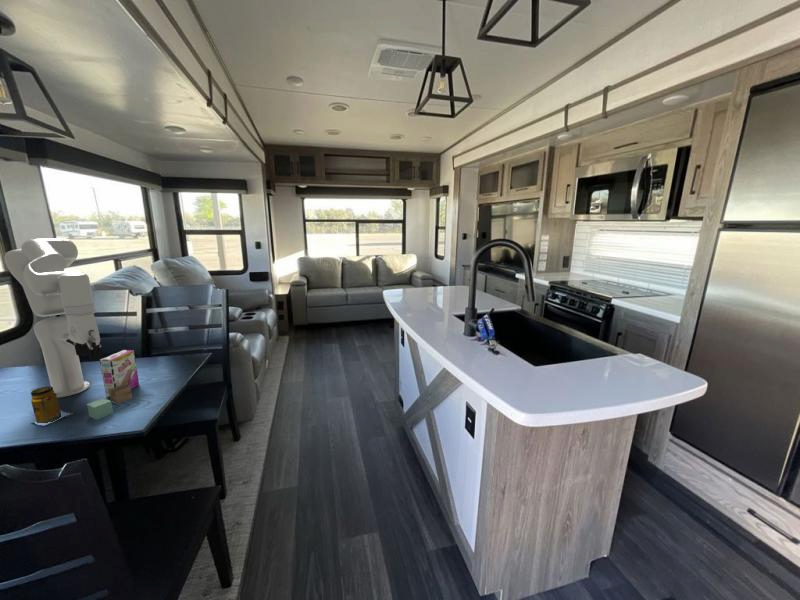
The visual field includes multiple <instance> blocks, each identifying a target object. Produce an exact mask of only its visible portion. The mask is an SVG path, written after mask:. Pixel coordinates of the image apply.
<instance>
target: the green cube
mask: <svg viewBox="0 0 800 600" xmlns="http://www.w3.org/2000/svg"><path fill="white" fill-rule="evenodd" d="M86 407H87V411H88V415H89V418H91V417H92V419H93V418H94V420H95V419H96V420H95V421H97V419H98V420H100V419H103V418H105V417H107V416H110V415H113V414H114V410H113V404H112V401H111V400H110V399H108V398H106V397H102V398H100V399H97V400H94V401H92V402H89V403H87V404H86ZM109 414H110V415H109ZM106 415H107V416H106ZM104 416H105V417H104ZM102 417H103V418H102ZM99 418H100V419H99Z"/></svg>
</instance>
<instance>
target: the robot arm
mask: <svg viewBox="0 0 800 600" xmlns="http://www.w3.org/2000/svg"><path fill="white" fill-rule="evenodd" d="M78 251H79V249H78V248H77V245H76V244H75V243H74V242H73V241H72V240H70V239H68V238H31V239H27V240H26V241H24V242H23V243H22V245H21V248H18V249H12V250H11V249H10V250H9V251H7V252H5V254H4V262H5V265H6V268H7V269H8V271H9V272H10V274H11V275H12V276H13V277H14V279H16V281H18V283H19V284H20V285H21V286H22V289H23V291H24V294H25V296H26V299H27V301H28V304H29V307H30V308H31V311H32V314H34V315H35V316H37V317H49V318H44V319H41V320H39V321H37V322H36V323H35V324H34V326H33V332H34V335H35V337H36V339H37V341H38V343H39V345H40V348H41V350H42V351H41V352H42V354H43V358H44V363H45V367H46V371H47V375H48V380H49V384H50V387H53V390H54V393H55V394H56V396H57V399H60V398H65V397H66V398H67V397H69V396H73V395H77V394H80V393H82V392H84V391H86V390H88V389H89V388H90V386H91V384H90V382H88V381H85V380H84V376H83V371H82V366H81V362H80V357H79V356H83V355H87V354H89V360H90V361H96V360H100V359H103V358H104V357H103V352H102V342H101V336H100V331H99V327H98V324H97V323H98V322H97V320H96V317H95V313H96V307H95V302H94V297H93V291H92V285H91V281H90V278H89V277H90V276H88V274H86V273H85V272H84V271H81V270H65V269H66V268H68V267H70V266H71V265H72V264H73V263H74V262H75V261H76V260H77V258H78V255H79V252H78ZM58 315H61V316H58ZM52 316H55V317H52ZM67 340H69V341H71V342H73V343H71V342H68V341H67Z"/></svg>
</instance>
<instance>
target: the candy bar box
mask: <svg viewBox="0 0 800 600" xmlns="http://www.w3.org/2000/svg"><path fill="white" fill-rule="evenodd" d="M99 362H100V364H99V365H100V369H101V376H102V381H103V386H104V391H105V392H104V393H105V398H110V395H109V389H112V388H115V387H117V386H120V385H123V384H124V385H127V386H129V387H130V388H131V390H133V389H135V388H136V387H139V385H140V383H139V374H138V369H137V363H136V362H137V361H136V355H135V351H134V350H133V349H132V350H131V349H122V350H121V351H118V352H116V353H113V354H110V355H108V356H105V357H102V358H100V359H99Z"/></svg>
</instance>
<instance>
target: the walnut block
mask: <svg viewBox="0 0 800 600" xmlns="http://www.w3.org/2000/svg"><path fill="white" fill-rule="evenodd" d="M109 395H110V397H109V400H110V401H111V403H114V402H115V404H116V403H117V404H116V405H118V404H121V403H124V402H126V401H129V400H131V399H133V393H132V389H131V388H130V387H129V386H127V385H124V384H123V385H120V386H117V387H115V388H112V389H109Z"/></svg>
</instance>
